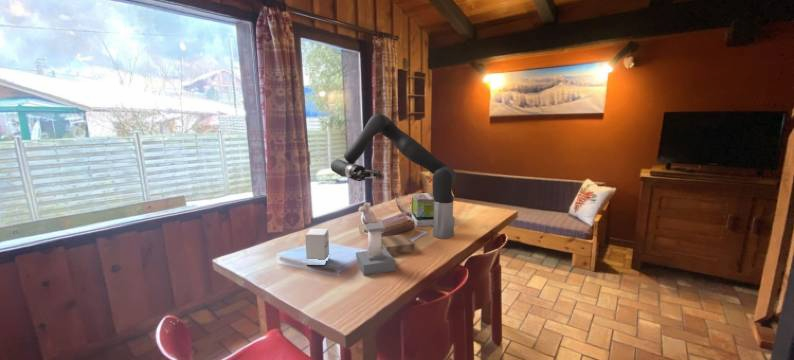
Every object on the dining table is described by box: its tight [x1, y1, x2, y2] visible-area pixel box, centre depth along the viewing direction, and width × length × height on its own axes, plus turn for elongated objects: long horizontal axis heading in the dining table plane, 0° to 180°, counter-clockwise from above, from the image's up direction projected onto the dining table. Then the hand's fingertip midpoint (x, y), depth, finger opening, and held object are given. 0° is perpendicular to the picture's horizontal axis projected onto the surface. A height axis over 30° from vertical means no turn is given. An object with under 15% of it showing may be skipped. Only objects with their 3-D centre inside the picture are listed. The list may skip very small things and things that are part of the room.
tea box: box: [411, 192, 434, 227], centre depth 176 cm, size 15×10×15 cm
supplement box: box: [305, 228, 330, 260], centre depth 126 cm, size 7×7×13 cm
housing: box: [364, 222, 386, 261], centre depth 122 cm, size 6×6×12 cm
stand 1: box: [355, 249, 396, 277], centre depth 123 cm, size 12×12×4 cm
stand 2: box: [381, 233, 415, 257], centre depth 140 cm, size 12×12×4 cm
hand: (372, 177), depth 143 cm, fingers open, 8 cm apart
